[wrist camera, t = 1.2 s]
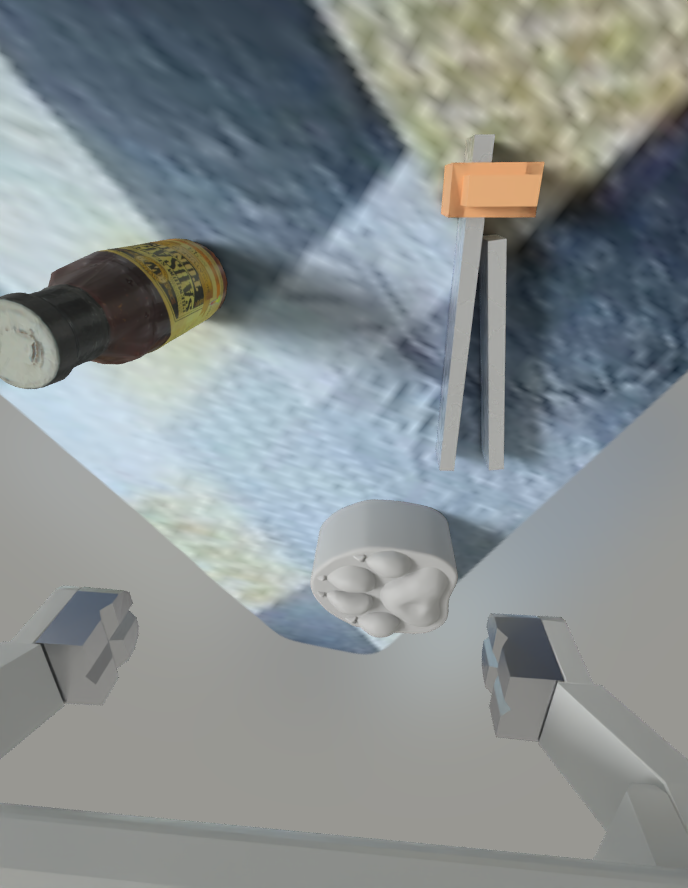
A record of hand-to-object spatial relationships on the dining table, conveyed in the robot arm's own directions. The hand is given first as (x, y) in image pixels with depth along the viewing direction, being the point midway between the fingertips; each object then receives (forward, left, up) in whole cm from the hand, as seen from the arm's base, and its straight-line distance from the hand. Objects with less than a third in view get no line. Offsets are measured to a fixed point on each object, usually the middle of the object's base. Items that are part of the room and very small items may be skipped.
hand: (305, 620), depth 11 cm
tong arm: (+3, +10, -31) cm, 33 cm away
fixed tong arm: (+1, +7, -31) cm, 32 cm away
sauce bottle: (-2, -14, -31) cm, 34 cm away
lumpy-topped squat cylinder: (+24, +2, -31) cm, 39 cm away
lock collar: (-8, +8, -31) cm, 33 cm away
